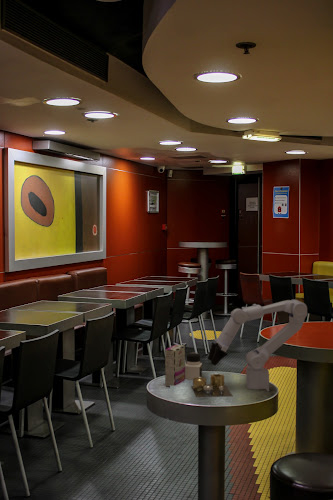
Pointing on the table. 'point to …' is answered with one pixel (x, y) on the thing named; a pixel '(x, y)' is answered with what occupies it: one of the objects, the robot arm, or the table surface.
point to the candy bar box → (174, 365)
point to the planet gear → (217, 380)
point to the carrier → (208, 389)
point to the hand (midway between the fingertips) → (211, 362)
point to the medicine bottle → (193, 366)
